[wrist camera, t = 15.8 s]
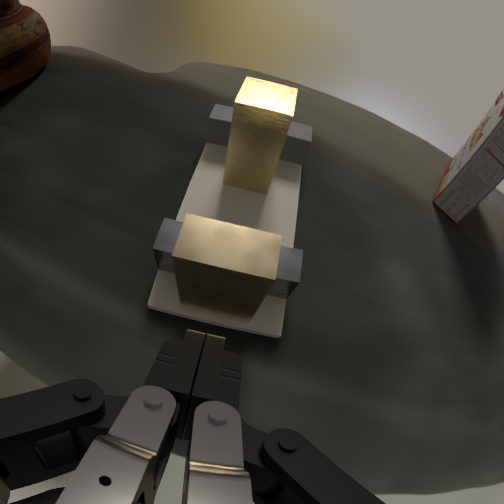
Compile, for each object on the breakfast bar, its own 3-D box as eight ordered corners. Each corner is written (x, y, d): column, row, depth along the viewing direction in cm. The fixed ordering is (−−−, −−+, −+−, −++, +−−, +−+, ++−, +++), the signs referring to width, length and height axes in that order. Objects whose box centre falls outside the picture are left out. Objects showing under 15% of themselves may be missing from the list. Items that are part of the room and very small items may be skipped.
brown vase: (1, 111, 36) (-34, -22, 10) (-31, 100, 37) (-60, -1, 11) (71, 58, 45) (60, -61, 19) (28, 54, 46) (14, -41, 20)
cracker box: (445, 163, 46) (505, 83, 27) (468, 185, 44) (532, 110, 26) (429, 200, 39) (510, 102, 21) (456, 226, 38) (543, 137, 20)
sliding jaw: (148, 299, 25) (124, 243, 17) (167, 241, 28) (158, 169, 19) (282, 330, 26) (324, 290, 17) (290, 269, 29) (329, 209, 20)
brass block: (222, 184, 33) (234, 101, 23) (233, 154, 35) (246, 76, 25) (267, 195, 33) (293, 116, 23) (273, 164, 35) (297, 89, 26)
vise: (148, 308, 26) (139, 288, 22) (212, 134, 38) (215, 104, 33) (278, 338, 27) (294, 324, 22) (301, 155, 38) (312, 127, 34)
